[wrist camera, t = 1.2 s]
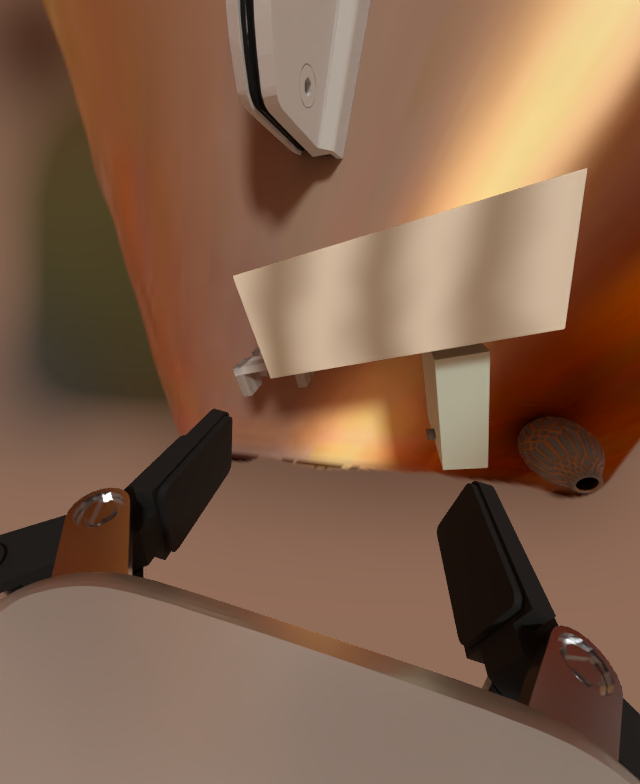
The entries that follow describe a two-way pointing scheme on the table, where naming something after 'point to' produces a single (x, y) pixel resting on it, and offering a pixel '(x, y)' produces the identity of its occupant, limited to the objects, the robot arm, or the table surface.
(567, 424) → the vase
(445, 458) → the pale white box
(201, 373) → the table surface
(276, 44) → the white electronic device
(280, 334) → the cabinet
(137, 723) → the robot arm
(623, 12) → the table surface
